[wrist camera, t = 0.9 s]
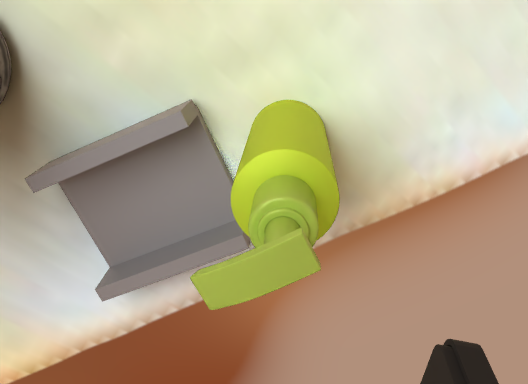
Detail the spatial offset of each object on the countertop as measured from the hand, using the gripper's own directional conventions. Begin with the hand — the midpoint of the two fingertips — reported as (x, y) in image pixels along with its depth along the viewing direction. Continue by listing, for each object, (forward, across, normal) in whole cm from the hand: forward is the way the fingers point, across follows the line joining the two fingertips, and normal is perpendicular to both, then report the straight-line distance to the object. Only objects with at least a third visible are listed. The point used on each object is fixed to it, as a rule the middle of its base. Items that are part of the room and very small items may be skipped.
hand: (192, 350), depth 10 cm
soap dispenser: (+30, -1, +5) cm, 30 cm away
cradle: (+30, +9, +11) cm, 33 cm away
